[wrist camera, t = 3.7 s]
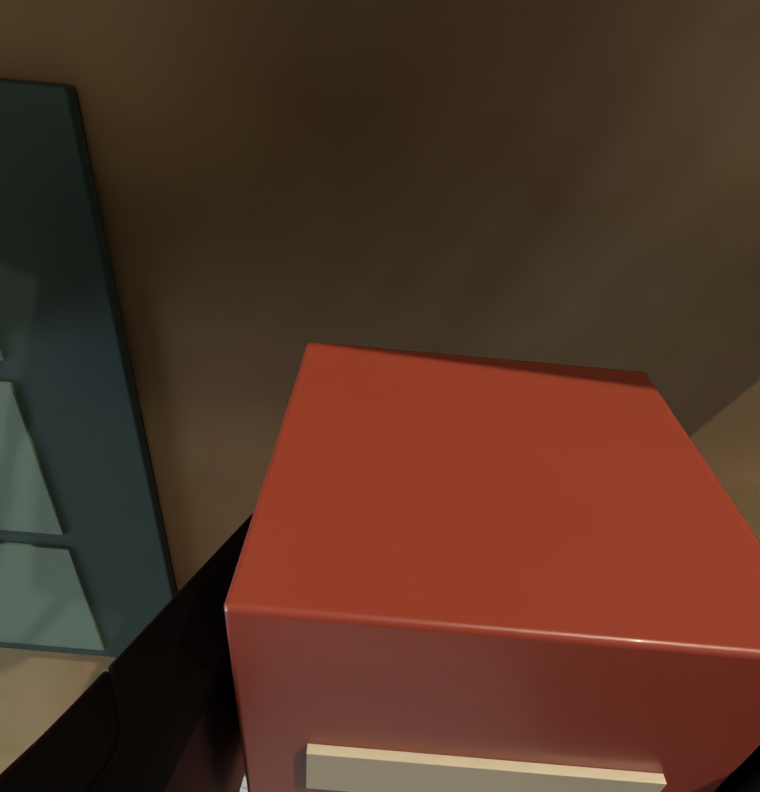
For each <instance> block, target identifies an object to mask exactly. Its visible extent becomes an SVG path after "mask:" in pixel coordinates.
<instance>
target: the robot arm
mask: <svg viewBox="0 0 760 792" xmlns="http://www.w3.org/2000/svg"><path fill="white" fill-rule="evenodd" d="M253 513H254V512H253ZM253 513H252V514H251V516H250V517H249V518H248V519H247V520H246V521H245V522H244V523H243V524H242V525H241V526H240V527H239V528H238V529H237V530H236V532H235V533H234V534H233V535H232V536H231V537H230V538H229V539H228V540H227V541H226V542H225V543H224V544H223V545H222V546H221V547H220V549H219V550H218V551H217V552H216V553H215V554H214V555H213V556H212V557H211V558H210V559H209V560H208V561H207V562H206V563H205V565H204V566H203V567H202V568H201V569H200V570H199V571H198V572H197V573H196V574H195V575H194V576H193V577H192V578H191V579H190V580H189V582H188V583H187V584H186V585H185V586H184V587H183V588H182V589H181V590H180V591H179V592H178V593H177V594H176V595H175V596H174V598H173V599H172V600H171V601H170V602H169V603H168V604H167V605H166V606H165V607H164V608H163V609H162V610H161V611H160V612H159V613H158V615H157V616H156V617H155V618H154V619H153V620H152V621H151V622H150V623H149V624H148V625H147V626H146V627H145V628H144V629H143V631H142V632H141V633H140V634H139V635H138V636H137V637H136V638H135V639H134V640H133V641H132V642H131V643H130V644H129V645H128V646H127V648H126V649H125V650H124V651H123V652H122V653H121V654H120V655H119V656H118V657H117V658H116V659H115V660H114V661H113V662H112V664H111V665H110V666H109V667H108V671H109V673H108V672H103V673H102V674H101V675H100V676H99V677H98V678H97V679H96V680H95V681H94V682H93V683H92V684H91V686H90V687H89V688H88V689H87V690H86V691H85V692H84V693H83V694H82V695H81V696H80V697H79V698H78V699H77V700H76V701H75V702H74V703H73V704H72V705H71V706H70V707H69V708H68V710H67V711H66V712H65V713H64V714H63V715H62V716H61V717H60V718H59V719H58V720H57V721H56V722H55V723H54V724H53V725H52V726H51V727H50V728H49V729H48V730H47V731H46V732H45V733H44V734H43V735H42V736H41V737H40V738H39V739H38V740H37V741H35V742H34V743H33V744H32V745H31V746H30V747H29V748H28V749H27V750H26V751H25V752H24V753H23V754H22V755H20V756H19V757H18V758H17V759H16V760H15V761H14V762H13V763H12V764H11V765H10V766H9V767H8V768H7V769H5V770H4V771H3V772H2V773H1V774H0V792H240V788H241V785H242V781H243V777H244V774H245V766H244V758H243V751H242V743H241V735H240V727H239V720H238V712H237V704H236V697H235V689H234V681H233V673H232V666H231V658H230V650H229V643H228V635H227V627H226V619H225V612H224V604H225V601H226V598H227V594H228V591H229V588H230V585H231V582H232V579H233V576H234V573H235V569H236V566H237V563H238V560H239V557H240V554H241V551H242V547H243V544H244V541H245V538H246V535H247V532H248V529H249V525H250V522H251V519H252V516H253ZM715 792H760V745H759V746H758V747H757V748H756V749H755V750H754V751H753V752H752V754H751V755H750V756H749V757H748V758H747V759H746V760H745V761H744V762H743V763H742V764H741V765H740V766H739V767H738V768H737V769H736V770H735V771H734V772H733V773H732V774H731V775H730V776H729V777H728V778H727V779H726V780H725V781H724V782H723V783H722V784H721V786H720V787H719V788H718V789H717V790H716V791H715Z"/></svg>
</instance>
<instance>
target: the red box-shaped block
mask: <svg viewBox="0 0 760 792" xmlns="http://www.w3.org/2000/svg"><path fill="white" fill-rule="evenodd" d="M224 612H225V619H226V627H227V635H228V643H229V650H230V658H231V666H232V673H233V681H234V689H235V697H236V704H237V712H238V720H239V727H240V735H241V743H242V751H243V758H244V766H245V774H246V782H247V789H248V792H715V791H716V790H717V789H718V788H719V787H720V786H721V784H722V783H723V782H724V781H725V780H726V779H727V778H728V777H729V776H730V775H731V774H732V773H733V772H734V771H735V770H736V769H737V768H738V767H739V766H740V765H741V764H742V763H743V762H744V761H745V760H746V759H747V758H748V757H749V756H750V755H751V754H752V752H753V751H754V750H755V749H756V748H757V747H758V746H759V745H760V541H759V540H758V539H757V537H756V536H755V534H754V533H753V531H752V530H751V528H750V527H749V525H748V524H747V522H746V521H745V519H744V518H743V516H742V515H741V513H740V512H739V510H738V509H737V507H736V506H735V504H734V503H733V501H732V500H731V499H730V497H729V496H728V494H727V493H726V491H725V490H724V488H723V487H722V485H721V484H720V482H719V481H718V479H717V478H716V476H715V475H714V473H713V472H712V470H711V469H710V467H709V466H708V464H707V463H706V462H705V460H704V459H703V457H702V456H701V454H700V453H699V451H698V450H697V448H696V447H695V445H694V444H693V442H692V441H691V439H690V438H689V436H688V435H687V433H686V432H685V430H684V429H683V427H682V426H681V424H680V423H679V422H678V420H677V419H676V417H675V416H674V414H673V413H672V411H671V410H670V408H669V407H668V405H667V404H666V402H665V401H664V399H663V398H662V396H661V395H660V393H659V392H658V390H657V389H656V387H655V386H654V385H653V383H652V382H651V380H650V379H649V377H648V376H647V374H645V373H643V372H639V371H627V370H616V369H605V368H594V367H583V366H572V365H561V364H550V363H538V362H527V361H516V360H505V359H494V358H483V357H472V356H461V355H449V354H438V353H427V352H416V351H405V350H394V349H383V348H372V347H361V346H349V345H338V344H327V343H316V342H311V343H308V345H307V347H306V350H305V353H304V356H303V359H302V362H301V365H300V369H299V372H298V375H297V378H296V381H295V384H294V387H293V390H292V394H291V397H290V400H289V403H288V406H287V409H286V412H285V416H284V419H283V422H282V425H281V428H280V431H279V434H278V438H277V441H276V444H275V447H274V450H273V453H272V456H271V460H270V463H269V466H268V469H267V472H266V475H265V478H264V482H263V485H262V488H261V491H260V494H259V497H258V500H257V503H256V507H255V510H254V513H253V516H252V519H251V522H250V525H249V529H248V532H247V535H246V538H245V541H244V544H243V547H242V551H241V554H240V557H239V560H238V563H237V566H236V569H235V573H234V576H233V579H232V582H231V585H230V588H229V591H228V594H227V598H226V601H225V604H224Z"/></svg>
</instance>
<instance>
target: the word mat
mask: <svg viewBox="0 0 760 792" xmlns="http://www.w3.org/2000/svg"><path fill="white" fill-rule="evenodd" d="M176 594H177V591H176V586H175V581H174V577H173V572H172V567H171V562H170V557H169V552H168V547H167V542H166V537H165V532H164V527H163V522H162V517H161V512H160V507H159V502H158V497H157V493H156V488H155V483H154V478H153V473H152V468H151V463H150V458H149V453H148V448H147V443H146V438H145V433H144V428H143V423H142V418H141V413H140V409H139V404H138V399H137V394H136V389H135V384H134V379H133V374H132V369H131V364H130V359H129V354H128V349H127V344H126V339H125V334H124V330H123V325H122V320H121V315H120V310H119V305H118V300H117V295H116V290H115V285H114V280H113V275H112V270H111V265H110V260H109V255H108V250H107V246H106V241H105V236H104V231H103V226H102V221H101V216H100V211H99V206H98V201H97V196H96V191H95V186H94V181H93V176H92V171H91V166H90V162H89V157H88V152H87V147H86V142H85V137H84V132H83V127H82V122H81V117H80V112H79V107H78V102H77V97H76V92H75V88H74V87H73V86H68V85H57V84H46V83H35V82H24V81H14V80H3V79H0V647H4V648H15V649H27V650H39V651H51V652H62V653H74V654H86V655H98V656H109V657H118V656H119V655H120V654H121V653H122V652H123V651H124V650H125V649H126V648H127V646H128V645H129V644H130V643H131V642H132V641H133V640H134V639H135V638H136V637H137V636H138V635H139V634H140V633H141V632H142V631H143V629H144V628H145V627H146V626H147V625H148V624H149V623H150V622H151V621H152V620H153V619H154V618H155V617H156V616H157V615H158V613H159V612H160V611H161V610H162V609H163V608H164V607H165V606H166V605H167V604H168V603H169V602H170V601H171V600H172V599H173V598H174V596H175V595H176Z"/></svg>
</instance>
